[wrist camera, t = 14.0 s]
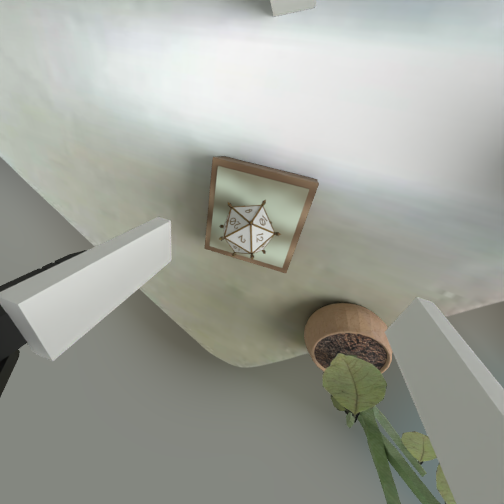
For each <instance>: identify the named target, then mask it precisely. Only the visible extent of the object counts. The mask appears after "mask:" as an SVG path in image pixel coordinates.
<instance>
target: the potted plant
mask: <svg viewBox="0 0 504 504" xmlns="http://www.w3.org/2000/svg"><path fill="white" fill-rule="evenodd" d="M387 329H388V328H387V326H386V324H385V323H384V322H383V321H382V320H381V319H380V318H379V317H378V316H377V315H376V314H375V313H373V312H372V311H370V310H368V309H366V308H364V307H362V306H359V305H355V304H349V303H336V304H330V305H327V306H324V307H322V308H320V309H318V310H317V311H315V312H314V313H313V314H312V315H311V316H310V318H309V320H308V322H307V324H306V326H305V331H304V340H305V343H306V346H307V349H308V352H309V353H310V355H311V357H312V360H313V361H314V363H315V364H316V365H317V366H318V367H319V368H320V369H321V370H322V371H324V372H323V387H324V388H325V389H326V390H327V391H328V392H329V393H330V394H331V399H332V402H333V405H334V407H336V408H337V409H338V410H339V411H345V412H346V414H347V416H346V421H347V426H348V427H349V428H351V426H352V425H353V424H354V423H355V422H356V420H357V418H358V420H359V422H360V423H361V425H362V427H363V428H364V431H365V434H366V436H367V439H368V445H369V448H370V452H371V455H372V458H373V461H374V464H375V466H376V469H377V472H378V475H379V478H380V482H381V485H382V488H383V491H384V494H385V498H386V501H387V504H401V503H400V500H399V497H398V493H397V489H396V486H395V484H394V481H393V477H392V474H391V471H390V468H389V464H388V461H389V462H390V463H391V465H392V466H393V467H394V468H395V470H396V471H397V472H398V474H399V475H400V476H401V477H402V479H403V480H404V481H405V483H406V484H407V485H408V487H409V488H410V489H411V490H412V492H413V493H414V494H415V495H416V497H417V498H418V499H419V500H420V502H421V503H422V504H440V503H439V502H438V501H437V500H436V499H435V497H434V496H433V495H432V494H431V492H430V491H429V490H428V489H427V487H426V486H425V485H424V484H423V482H422V481H421V480H420V479H419V477H418V476H417V475H416V473H415V472H414V471H413V470H412V468H411V467H410V466H409V465H408V463H407V462H406V461H405V459H404V458H403V457H402V456H401V454H400V453H399V452H398V451H397V449H396V448H395V447H394V446H393V445H392V444H391V443H390V442H389V441H388V440H387V439H386V437H384V435H382V433H381V432H380V431H379V429H378V426H377V423H376V420H375V418H376V419H377V420H378V421H379V422H380V424H381V425H382V426H383V428H384V429H385V430H386V432H387V433H388V434H389V436H390V437H391V438H392V439H393V441H394V442H395V443H396V445H397V446H398V447H399V448H400V450H401V451H402V452H403V453H404V455H405V456H406V457H407V458H408V460H409V461H410V462H411V463H412V465H413V466H414V467H415V468H416V470H417V471H418V472H419V473H420V475H421V476H422V477H423V476H424V475H425V474H426V472H425V471H424V469H423V468H422V466H421V464H422V463H423V461H428V460H433V459H435V458H437V456H436V454H435V451H434V449H433V447H432V444H431V442H430V439H429V437H428V436H426V435H423V434H421V433H418V432H415V431H414V432H407V433H403V435H402V438H400V437H399V435H398V434H397V433H396V431H395V430H394V428H393V427H392V426H391V424H390V423H389V422H388V420H387V419H386V418H385V416H384V415H383V414H382V413H381V412H380V411H379V410H378V409H377V407H376V406H375V405H377V404H378V403H379V402H380V401H382V400H383V399H384V395H385V391H386V387H387V383H386V381H385V380H384V378H383V376H382V374H381V373H383V372H384V371H385V370H386V369H387V368H388V367H389V366H390V363H391V361H392V349H391V346H390V344H389V342H388V339H387V337H386V334H385V331H386V330H387ZM387 459H388V460H387ZM416 459H417V460H418V461H417V460H416ZM436 479H437V480H436V481H437V489H438V491H439V492H440V494H441V496H442V497H443V499H444V500H445V504H456V502H455V499H454V497H453V494H452V492H451V490H450V487H449V485H448V482H447V480H446V478H445V475H444V473H443V471H442V468H441V466H440V463H439V465H438V467H437V471H436Z"/></svg>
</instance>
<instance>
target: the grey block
mask: <svg viewBox="0 0 504 504" xmlns="http://www.w3.org/2000/svg"><path fill="white" fill-rule="evenodd" d="M270 2H271V7H272V11H273V16H274V17H276V16H280V15H285V14H289V13H294V12H298V11H303V10H308V9H312V8H315V6H316V0H270Z"/></svg>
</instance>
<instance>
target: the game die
mask: <svg viewBox="0 0 504 504" xmlns="http://www.w3.org/2000/svg"><path fill="white" fill-rule="evenodd" d="M265 203H266V200H264V201H263V202H262V204H261V205H250V206H245V205H244V206H234V207H232V204H231V203H229V202H228V206H229V207H230V211H229V214H228V216H227V219H226V221H225V224H224V225H220V226H219V227H220V228H224V237H223V236H222V237H220V238H219V240H221V241H222V240H224V239H225V240H226V241H227V243H228V244H229V246H230V247H231V248H232V250H233V251H234V253H233V254H232V257H234V256H235V255H236V253H242V254H251V255H250V258H251V259H252V260H253V258H254V255H253V254H254V253H257V252H259V251H262V252H263V254H266V251H265V250H264V248H265V247H266V246H267V244H268V243H269V242H270V240H271V239H272V238H273V236H274V235H276V236H279V235H281V234H280V233H279V232H275V231H274V229H273V227H272V222H271V221H270V220H269V217H268V215H267V213H266V211H265V208H264V205H265Z"/></svg>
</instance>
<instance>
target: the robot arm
mask: <svg viewBox="0 0 504 504" xmlns="http://www.w3.org/2000/svg"><path fill="white" fill-rule="evenodd" d="M170 261H171V220H168V219H164V218H161V217H157V218H154V219H152V220H150V221H148V222H146V223H144V224H142V225H140V226H138V227H136V228H133V229H131V230H129V231H127V232H125V233H123V234H121V235H119V236H117V237H115V238H112V239H110V240H108V241H106V242H104V243H102V244H100V245H98V246H96V247H94V248H92V249H89V250H85V251H81V252H77V253H73V254H70V255H67V256H65V257H63V258H61V259H58V260H56V261H55V263H50V264H48V265H45V266H43V267H42V269H37V270H34V271H32V272H30V273H28V274H26V275H23V276H21V277H19V278H17V279H15V280H13V281H10V282H8V283H6V284H4V285H2V286H0V397H1V394H2V392H3V390H4V388H5V386H6V384H7V382H8V379H9V377H10V375H11V373H12V371H13V368H14V366H15V364H16V362H17V360H18V357H19V353H20V352H19V350H18V349H19V348H20V347H21V346H23V345H24V344H26V343H27V344H28V345H29V347H30V348H31V350H32V351H33V353H35V354H37V355H40V356H42V357H44V358H46V359H49V360H51V361H54V360H55V359H56V358H57V357H58V356H60V355H61V354H62V353H63V352H64V351H66V349H68V348H69V347H70V346H71V345H73V344H74V343H75V342H76V341H77V340H78V339H80V338H81V337H82V336H83V335H84V334H85V333H87V332H88V331H89V330H90V329H91V328H93V327H94V326H95V325H96V324H97V323H98V322H100V321H101V320H102V319H103V318H104V317H105V316H107V315H108V314H109V313H110V312H111V311H113V310H114V309H115V308H116V307H117V306H118V305H120V304H121V303H122V302H123V301H124V300H126V299H127V298H128V297H129V296H130V295H132V294H133V293H134V292H135V291H136V290H137V289H139V288H140V287H141V286H142V285H143V284H144V283H146V282H147V281H148V280H149V279H150V278H152V277H153V276H154V275H155V274H156V273H157V272H159V271H160V270H161V269H162V268H163V267H165V266H166V265H167V264H168V263H169V262H170ZM385 334H386V337H387V339H388V342H389V344H390V346H391V349H392V351H393V353H394V356H395V358H396V361H397V363H398V365H399V368H400V370H401V372H402V374H403V377H404V380H405V382H406V384H407V387H408V389H409V392H410V394H411V396H412V399H413V401H414V404H415V406H416V408H417V411H418V413H419V416H420V418H421V420H422V423H423V425H424V427H425V430H426V432H427V434H428V437H429V439H430V442H431V444H432V447H433V449H434V451H435V454H436V456H437V459H438V461H439V463H440V466H441V468H442V471H443V473H444V475H445V478H446V480H447V482H448V485H449V487H450V490H451V492H452V494H453V497H454V499H455V502H456V504H504V389H503V388H502V386H501V385H500V384H499V383H498V381H497V380H496V379H495V378H494V376H493V375H492V374H491V373H490V372H489V370H488V369H487V368H486V367H485V366H484V364H483V363H482V362H481V361H480V359H479V358H478V357H477V356H476V354H475V353H474V352H473V351H472V349H471V348H470V347H469V346H468V344H467V343H466V342H465V341H464V340H463V338H462V337H461V336H460V335H459V333H458V332H457V331H456V330H455V328H454V327H453V326H452V325H451V323H450V322H449V321H448V320H447V319H446V317H445V316H444V315H443V314H442V312H441V311H440V310H439V309H438V307H437V306H436V305H435V304H434V302H431V301H428V300H425V299H421V298H418V297H416V298H415V299H414V300H413V302H412V303H411V304H410V305H409V306H408V307H407V308H406V309H405V310H404V311H403V312H402V314H401V315H400V316H399V317H398V318H397V319H396V320H395V321H394V322H393V323H392V324H391V326H390V327H389V328H388V329H387V330H386V331H385Z"/></svg>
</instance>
